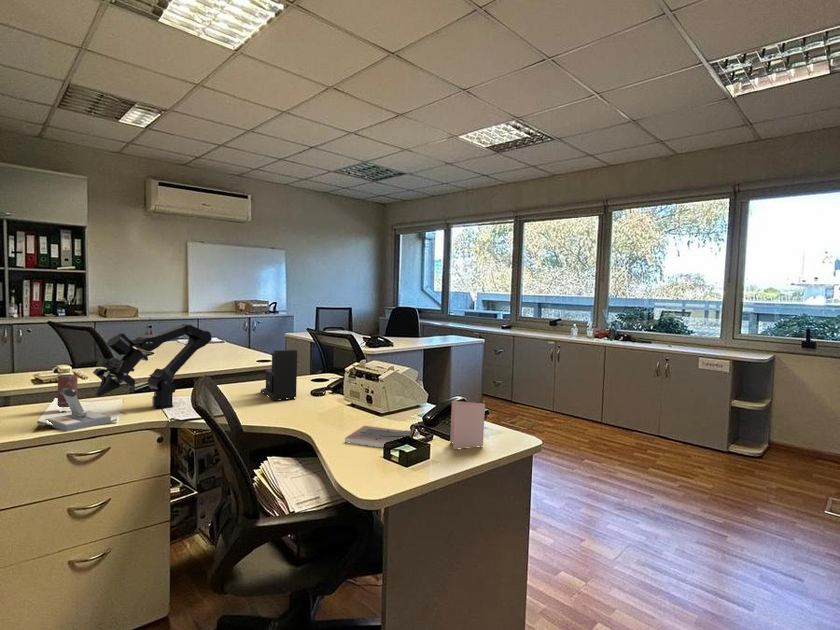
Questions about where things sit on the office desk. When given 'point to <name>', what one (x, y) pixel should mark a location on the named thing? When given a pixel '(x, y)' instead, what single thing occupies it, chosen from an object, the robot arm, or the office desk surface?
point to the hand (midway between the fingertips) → (97, 396)
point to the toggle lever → (73, 402)
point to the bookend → (282, 375)
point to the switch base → (79, 421)
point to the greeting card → (467, 424)
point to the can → (66, 382)
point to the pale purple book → (376, 436)
